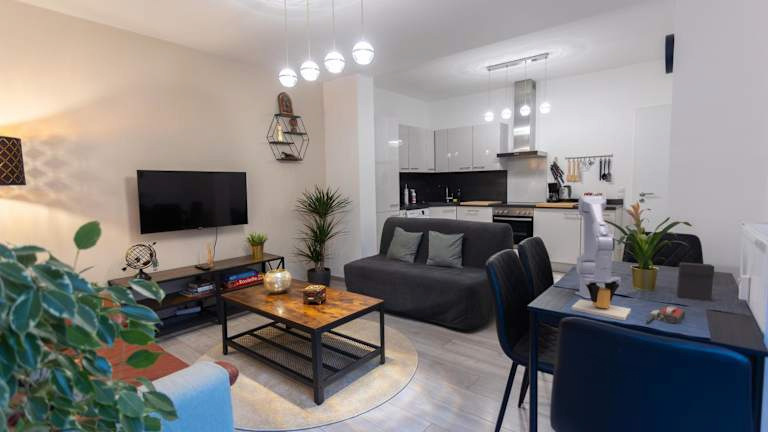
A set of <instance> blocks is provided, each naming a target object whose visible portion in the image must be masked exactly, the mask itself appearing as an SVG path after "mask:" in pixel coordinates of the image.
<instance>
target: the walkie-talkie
mask: <svg viewBox="0 0 768 432" xmlns="http://www.w3.org/2000/svg"><path fill="white" fill-rule="evenodd" d="M685 316H686V310H684V309H683V308H680V307H676V306H672V305H665V306H663V307H662V308H661V309H660V310H659V309H657V310H656V309H655V310H652V311H651V312H650V313H649V317H648V318H647V319H646V320H645V322H646V323H650V322H651V321H652V320H658V321H661V320H662V322H666V323H669V324H675V325H680V323H681V322H682V321H681V320H683V319H684V318H685ZM654 318H655V319H654Z"/></svg>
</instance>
